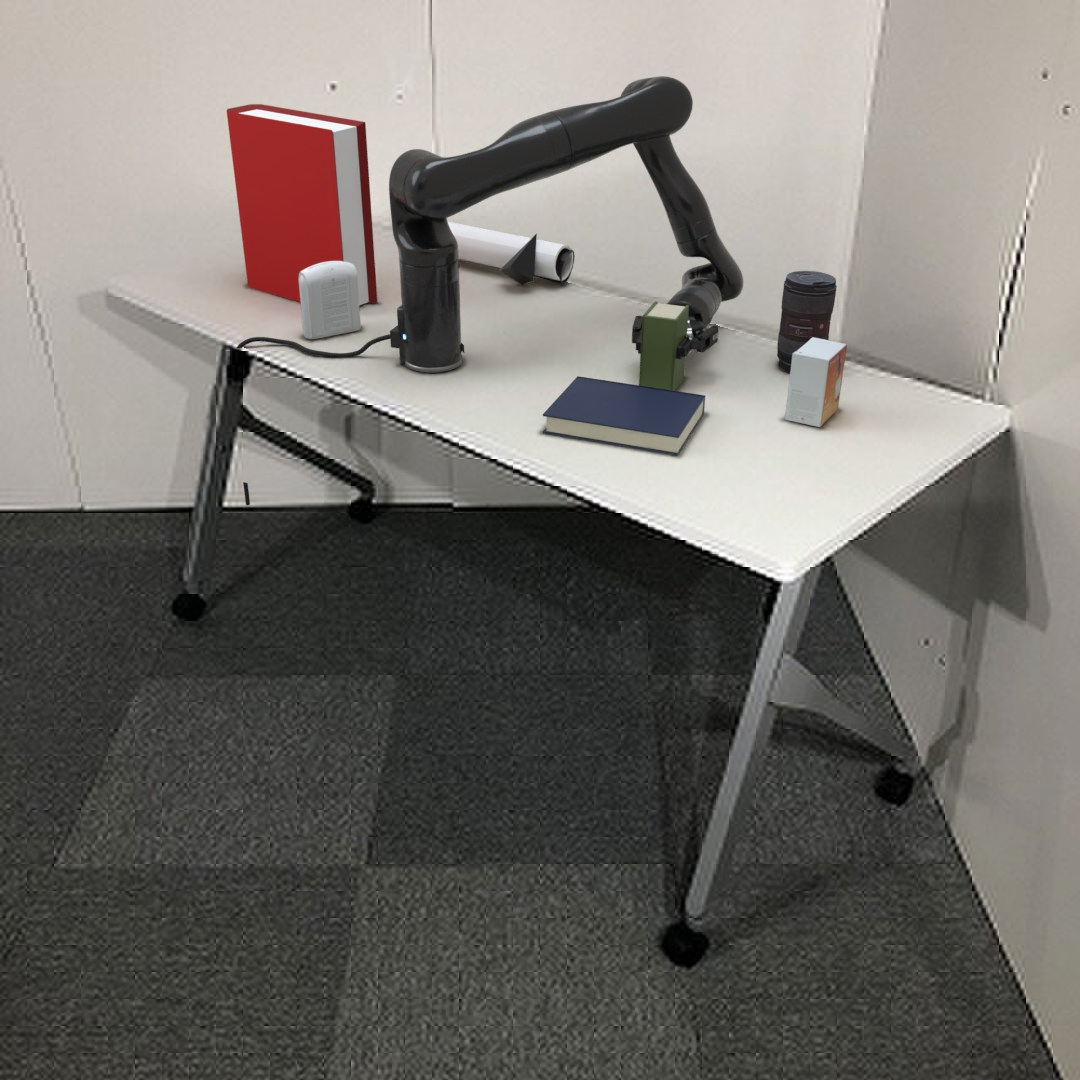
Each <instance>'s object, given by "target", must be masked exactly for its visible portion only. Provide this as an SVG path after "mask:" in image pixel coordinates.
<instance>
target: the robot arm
mask: <svg viewBox="0 0 1080 1080" xmlns="http://www.w3.org/2000/svg"><path fill="white" fill-rule="evenodd" d="M693 103H694V100H693V96H692V93H691V91H690V89H689V88H688V87H687V85H685V84H684V82H682V81H680V80H679V79H677V78H674V77H671V76H668V75H667V76H666V75H664V76H663V75H660V76H653V77H647V78H641V79H636V80H634V81H632V82H630V83H628V84H627V85H626V86H625V88H624V89H623V90H622V92H621V94H620V96H618V97H615V98H611V99H608V100H604V101H603V100H602V101H597V102H590V103H583V104H578V105H573V106H566V107H562V108H559V109H555V110H551V111H547V112H543V113H541V114H539V115H536V116H532V117H529V118H527V119H524V120H522V121H519V122H518V123H516V124H514V125H513V126H512V127H510V128H509V129H507V130H506V131H505V132H504V133H503V134H502V135H501V136H500V137H499V138H497V139H495V141H494V142H492V143H491V144H489V145H486V146H485V147H483V148H480V149H477V150H473V151H470V152H467V153H463V154H458V155H454V156H447V157H445V156H440V155H438V154H436V153H434V152H431V151H429V150H427V149H421V148H413V149H409V150H407V151H404V152H403V153H402V154H400V155H399V156H398V157H397V158H396V159H395V161H394V162H393V164H392V166H391V170H390V173H389V178H388V179H389V180H388V197H389V207H390V219H391V227H392V235H393V239H394V242H395V245H396V247H397V250H398V260H399V261H398V262H399V278H400V295H401V296H400V297H401V305H399V306H398V308H397V309H396V317H397V320H396V321H397V325H396V326H395V327H393V328H391V329H390V330H389V334H384V335H381V336H377V337H374V338H373V339H371V340H369V341H368V342H366V343H365V344H364V345H363V346H362V347H361V348H359V349H357V350H354V351H350V352H330V351H329V352H328V351H324V350H323V351H321V350H317V349H312V348H307V347H306V346H304V345H303V344H302V345H301V344H300V343H298V342H296V341H293V340H287V339H280V338H274V337H268V336H267V337H266V336H254V337H253V336H252V337H249V338H245V340H243V341H241V342H240V343H239V344H238V345H237V346H236V347H235V348H236V349H242V348H244V347H245V346H247V345H249V344H252V343H256V342H264V343H265V342H266V343H272V344H277V345H287V346H291V347H293V348H296V349H298V350H300V351H302V352H304V353H306V354H309V355H312V356H320V357H325V358H326V357H327V358H336V359H340V358H343V359H344V358H353V357H356V356H359V355H362V354H363V353H365V352H366V351H367V350H368V349H369V348H370V347H371V346H373V345H376V344H377V343H380V342H383V341H388V340H390V348H393V349H398V351H399V352H398V353H399V365H401V366H405V367H407V368H408V369H410V370H412V371H415V372H420V373H428V374H429V373H430V374H431V373H433V374H434V373H435V374H436V373H444V372H449V371H452V370H455V369H457V368H458V367H460V366H461V365H462V364H463V354H465V344H464V343H462V323H461V319H462V318H461V291H460V290H461V288H460V263H459V261H460V260H459V255H458V243H457V240H456V238H455V237H454V235H453V233H452V231H451V229H450V227H449V224H448V222H449V220H448V218H451V217H452V216H453V217H454V216H455V215H456V214H459V213H461V212H463V211H465V210H467V209H469V208H471V207H473V206H475V205H477V204H479V203H481V202H483V201H485V200H488V199H489V198H492V197H493V196H497V195H499V194H501V193H505V192H508V191H511V190H514V189H517V188H520V187H523V186H526V185H529V184H532V183H535V182H537V181H541V180H545V179H548V178H550V177H553V176H556V175H559V174H562V173H564V172H565V173H566V172H567V171H570V170H572V169H574V168H577V167H580V166H582V165H584V164H587V163H589V162H591V161H595V160H596V159H598V158H600V157H601V158H602V157H603V156H605V155H607V154H609V153H611V152H613V151H616V150H618V149H620V148H623V147H626V146H629V145H633V147H634V148H635V150H636V152H637V153H638V156H639V158H640V160H641V162H642V163H643V165H644V167H645V169H646V171H647V173H648V175H649V177H650V179H651V182H652V184H653V186H654V187H655V189H656V192H657V194H658V197H659V199H660V201H661V204H662V206H663V208H664V211H665V213H666V216H667V219H668V223H669V225H670V228H671V231H672V234H673V237H674V239H675V242H676V243H675V244H676V246H677V248H678V250H679V251H678V252H679V253H680V254H681V255H682V256H683V257H685V258H703V259H705V260H707V261H708V262H709V263H704V264H702V265H697V266H693V267H691V268H689V269H687V270H686V271H685V272H684V273H683V274H682V277H681V288H680V289H679V290H678V291H677V292H676V293H675V294H674V295H673V296H672V297H671V298H670V299H669V301H667V303H666V304H669V305H677V306H685V307H686V305H689V313H688V328H687V333H686V334H685V338H683V339H682V340H681V341H680V343H679V344H678V346H677V352H676V359H680V360H681V359H682V357H687V356H688V355H689V354H690V353H692V352H693V351H695V350H696V352H697V353H700V354H702V353H703V354H704V353H705V352H707V351H708V350H709V349H710V348H712V347H713V346H714V345H717V343H718V342H719V341H718V340H719V328H720V327H719V326H718V325H711V323H712V321H713V318H714V316H715V314H716V313H717V312H718V310H719V307H720V306H721V304H722V303H723V302H727V301H731V300H734V299H736V298H738V297H740V295H741V294H742V291H743V288H744V276H743V272H742V270H741V268H740V266H739V265H738V263H737V261H736V260H735V258H733V256H732V255H731V253H730V251H729V250H728V249H727V248H726V246H725V244H724V242H723V241H722V239H721V238H720V235H719V233H718V230H717V228H716V225H715V222H714V219H713V216H712V213H711V210H710V207H709V204H708V202H707V199H706V198H705V195H704V194H703V192H702V191H701V189H700V187H699V185H698V184H697V183H696V181H695V180H694V178H693V177H692V176H691V175H690V173H689V172H688V170H687V168H685V166H684V164H683V163H682V161H681V159H680V157H679V156H678V154H677V152H676V150H675V147H674V144H673V142H672V139H671V136H672V135H674V134H676V133H678V132H679V131H681V130H682V129H683V127H685V125H686V124H687V122H688V121H689V119H690V118H691V116H692V111H693V107H694V106H693ZM642 316H643V315H636V316H635V317H634V319H633V320H634V321H633V325H632V327H631V343H632V344H635V351H637V354H638V355H640V353H641V331H642ZM709 325H711V326H709ZM462 353H463V354H462ZM242 484H243V492H244V500H245V506H250V505H251V501H250V491H249V484H248V482H244V481H243V482H242Z"/></svg>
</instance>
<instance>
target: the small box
mask: <svg viewBox="0 0 1080 1080" xmlns="http://www.w3.org/2000/svg"><path fill="white" fill-rule="evenodd" d="M847 349H848V344H847V343H843V342H838V341H835V340H830V339H829V340H824V339H819V338H814V337H812V338H811V339H810V340H809V341H808V342H807V343H805V344H804V345H803V346H802V347H801V348H799V349H798V350H797V351H796V352H794V353H793V354H792V362H791V371H790V373H789V381H788V388H787V389H788V390H787V397H786V398H787V399H786V405H785V407H786V408H785V417H784V419H785V420H786V421H790V422H795V423H799V424H804V425H809V426H813V427H817V428H821V427H822V426H823V425H824V424H825V423H826V422H827V421H828V419H830V418H831V417H832V416H833V415H834V414H835V413H836V412H838V410H839V407H840V406H839V404H840V396H841V391H842V384H843V376H844V370H845V364H846V356H847V351H848V350H847Z"/></svg>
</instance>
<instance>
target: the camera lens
mask: <svg viewBox="0 0 1080 1080" xmlns="http://www.w3.org/2000/svg"><path fill="white" fill-rule="evenodd" d="M785 277H786V278H785V280H784V281H783V282H784V283H783V290H782V297H781V307H780V308H781V313H780V323H779V331H778V337H777V347H776V348H777V353H776V356H777V358H778V366H779V369H780V370H782V371H783V372H785V373H788V374H790V371H791V362H792V354H793V353H794V352H796V351H797V350H798V349H799V348H801V347H802V346H803V345H804V344H805V343H807V342H808V341H809V340H810V339H811V338H812V337H814V338H819V339H824V340H829V341H830V328H831V320H832V314H833V312H834V308H835V302H836V295H837V288H838V287H837V278H836V277H835V276H834V275H831V274H829V273H826V272H821V271H815V270H797V271H792V272H789V273H787V274H786V276H785Z"/></svg>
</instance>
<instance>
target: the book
mask: <svg viewBox="0 0 1080 1080" xmlns="http://www.w3.org/2000/svg"><path fill="white" fill-rule="evenodd" d="M226 118H227V127H228V136H229V143H230V150H231V158H232V167H233V175H234V184H235V192H236V199H237V207H238V217H239V224H240V225H239V226H240V233H241V241H242V248H243V257H244V265H245V272H246V281H247V288H249V289H253V290H256V291H260V292H262V293H263V292H264V293H267V294H271V295H274V296H277V297H281V298H285V299H287V300H291V301H294V302H298V303H301V302H300V290H299V273H300V272H301V271H302V270H304V269H306V268H308V267H310V266H312V265H315V264H318V263H322V262H328V261H344V262H349V263H351V264H353V265H354V266H355V268H356V271H357V278H358V294H359V306H363V305H364V304H367V303H372V304H378V291H377V290H378V289H377V276H376V261H375V246H374V232H373V216H372V214H373V213H372V200H371V184H370V172H369V171H370V170H369V156H368V155H369V154H368V141H367V126H366V121H362V120H357V119H349V118H344V117H339V116H333V115H327V114H322V113H321V114H320V113H316V112H315V113H314V112H308V111H303V110H298V109H291V108H285V107H279V106H274V105H268V104H263V103H262V104H261V103H259V104H258V103H251V104H246V105H240V106H235V107H230V108H227V109H226Z"/></svg>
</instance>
